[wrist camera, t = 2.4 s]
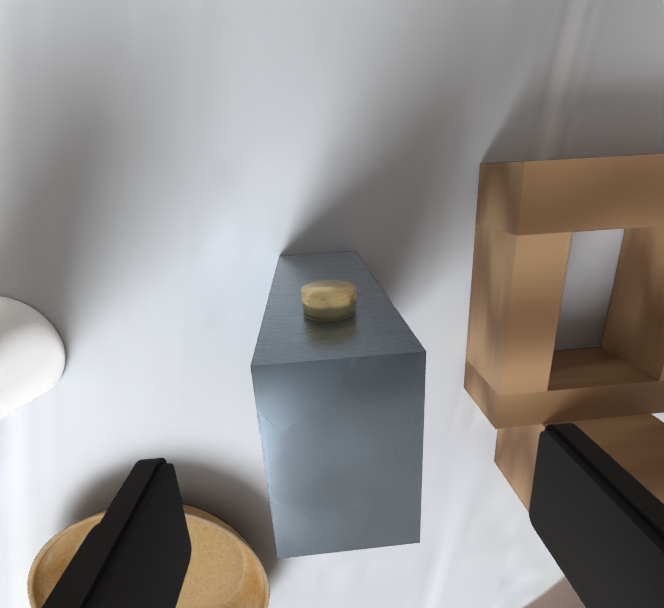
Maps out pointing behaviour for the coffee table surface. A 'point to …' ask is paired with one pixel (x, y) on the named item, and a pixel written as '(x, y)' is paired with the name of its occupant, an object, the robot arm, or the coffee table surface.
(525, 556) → the coffee table surface
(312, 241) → the coffee table surface
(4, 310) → the white vase
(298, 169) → the coffee table surface
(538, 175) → the wooden square frame
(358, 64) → the coffee table surface
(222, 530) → the plant saucer
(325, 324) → the grey box with cap
